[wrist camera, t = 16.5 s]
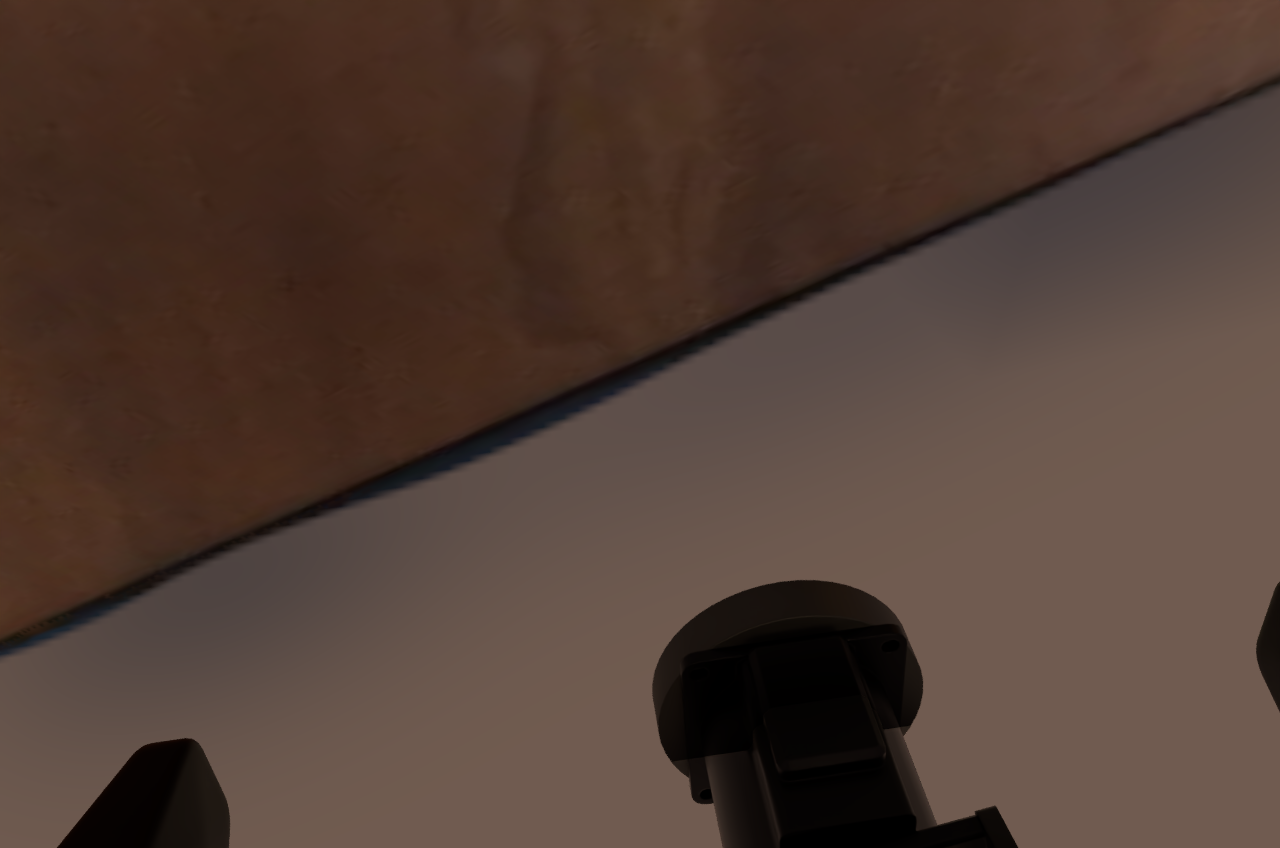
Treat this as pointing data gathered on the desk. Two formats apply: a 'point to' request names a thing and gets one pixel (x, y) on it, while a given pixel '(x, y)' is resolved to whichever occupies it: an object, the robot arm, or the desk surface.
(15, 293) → the desk surface
